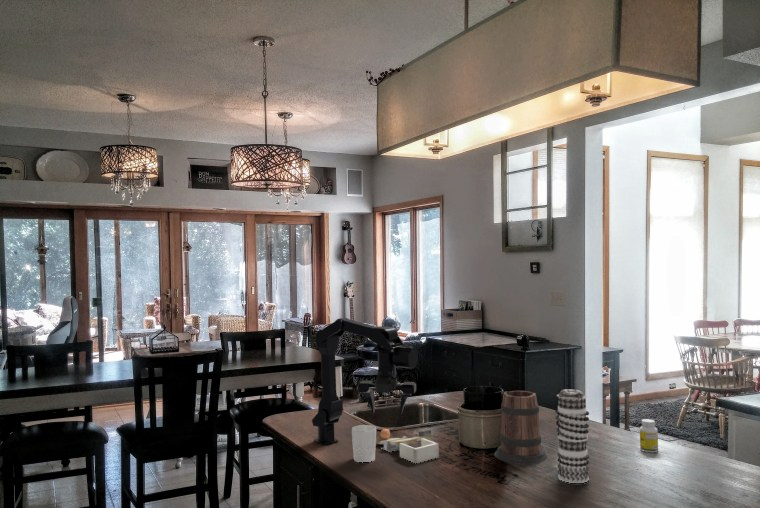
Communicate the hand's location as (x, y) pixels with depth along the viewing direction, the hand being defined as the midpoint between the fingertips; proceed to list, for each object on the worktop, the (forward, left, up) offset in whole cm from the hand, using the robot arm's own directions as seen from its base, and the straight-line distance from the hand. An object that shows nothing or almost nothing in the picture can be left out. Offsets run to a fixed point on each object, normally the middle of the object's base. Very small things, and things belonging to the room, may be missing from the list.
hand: (387, 413), depth 192 cm
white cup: (0, -9, -14) cm, 16 cm away
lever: (-3, +10, -11) cm, 16 cm away
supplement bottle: (+49, +70, -14) cm, 87 cm away
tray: (+9, +6, -13) cm, 17 cm away
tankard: (+25, +36, -14) cm, 46 cm away
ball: (-10, +6, -10) cm, 15 cm away
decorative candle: (+50, +29, -14) cm, 60 cm away
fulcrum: (-4, +6, -13) cm, 15 cm away
